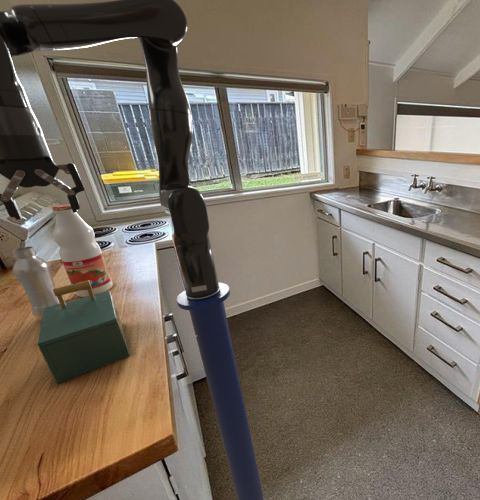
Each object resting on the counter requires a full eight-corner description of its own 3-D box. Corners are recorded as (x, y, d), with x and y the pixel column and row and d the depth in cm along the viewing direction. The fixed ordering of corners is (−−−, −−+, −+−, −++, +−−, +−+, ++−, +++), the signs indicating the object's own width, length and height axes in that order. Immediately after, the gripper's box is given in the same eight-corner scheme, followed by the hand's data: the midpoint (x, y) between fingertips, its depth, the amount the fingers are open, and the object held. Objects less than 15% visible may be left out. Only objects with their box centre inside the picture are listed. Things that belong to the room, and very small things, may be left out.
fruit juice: (118, 281, 98) (90, 201, 88) (106, 294, 89) (74, 207, 80) (84, 286, 95) (52, 203, 85) (69, 299, 87) (31, 210, 77)
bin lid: (45, 310, 64) (35, 289, 62) (110, 293, 71) (103, 273, 69) (38, 347, 52) (26, 323, 50) (117, 321, 60) (109, 299, 58)
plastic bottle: (75, 308, 82) (48, 243, 75) (57, 322, 75) (25, 252, 68) (50, 311, 81) (20, 245, 74) (29, 325, 74) (-6, 254, 67)
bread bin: (60, 345, 66) (45, 313, 63) (122, 325, 73) (111, 295, 70) (57, 384, 55) (39, 347, 52) (129, 355, 63) (117, 322, 60)
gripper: (66, 134, 62) (91, 207, 68) (-38, 134, 53) (1, 218, 59) (65, 133, 57) (92, 212, 62) (-51, 132, 48) (-6, 225, 53)
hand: (48, 215), depth 60 cm, fingers open, 8 cm apart
